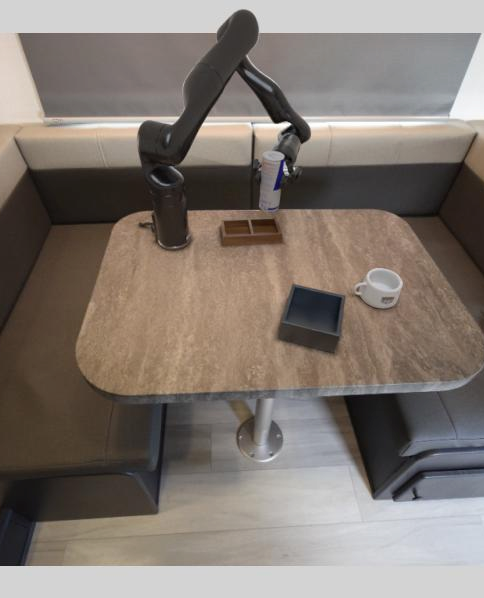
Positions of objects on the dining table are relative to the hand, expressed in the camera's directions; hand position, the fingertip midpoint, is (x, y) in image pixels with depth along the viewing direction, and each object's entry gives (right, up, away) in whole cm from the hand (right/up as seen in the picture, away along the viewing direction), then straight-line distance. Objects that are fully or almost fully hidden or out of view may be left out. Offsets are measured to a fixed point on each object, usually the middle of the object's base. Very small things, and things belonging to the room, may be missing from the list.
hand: (269, 183), depth 91 cm
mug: (+27, -29, -1) cm, 40 cm away
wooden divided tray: (-4, -10, +17) cm, 20 cm away
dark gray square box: (+9, -36, -8) cm, 38 cm away
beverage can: (+1, -4, +8) cm, 9 cm away
